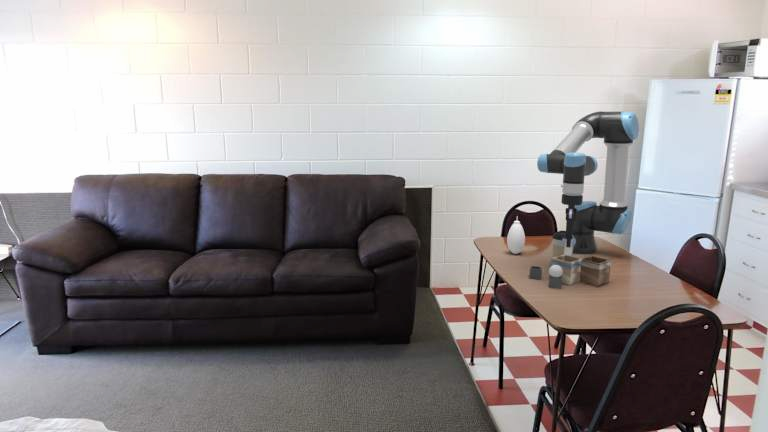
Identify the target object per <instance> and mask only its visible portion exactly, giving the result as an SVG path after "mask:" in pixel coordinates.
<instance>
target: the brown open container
mask: <svg viewBox="0 0 768 432" xmlns="http://www.w3.org/2000/svg"><path fill="white" fill-rule="evenodd" d="M611 267H612V260H611V259H607V258H603V257H600V256H594V255H589V256H585V257H582V258H581V271H580V282H579V283H582V284H585V285H590V286H593V287H596V288H599V287H601V286H604V285H607V284H609V283H610V276H611V275H610V274H611Z"/></svg>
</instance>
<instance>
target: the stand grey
mask: <svg viewBox="0 0 768 432" xmlns="http://www.w3.org/2000/svg"><path fill="white" fill-rule="evenodd" d="M561 278H562V276H561V277H559V278H556V277H552V276H551V275H550V274H549V277H548V288H553V289H561V287H562V283H561Z"/></svg>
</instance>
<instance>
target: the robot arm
mask: <svg viewBox="0 0 768 432" xmlns="http://www.w3.org/2000/svg"><path fill="white" fill-rule="evenodd" d="M638 119H639V118H638V117H637V115H636V114H635V113H634V112H632V111H626V110H625V111H594V112H592V113H589V114H586V115H585V116H583V117H581V118H579V120H577V121H576V122H575V123H574V124H573V125H572V126H571V131H570V132H568V134H567V135H566V136H565V137H564V138H563V139H562V140H561V141H560V143H558V145H557V146H555V148H554V149H553V150H552V151H551V152H550V153H542V154H540V155H539V156H538V158H537V162H536V163H537V169H538V171H539V172H541V173H544V174H545V173H547V174H556V175H557V174H559V175H563V178H562V184H560V187H561V190H562V191H561V192H562V194H561V204H562V205H564V206H565V205H566V206H567V207H566V208H565V213H564V214H565V222H566V225H565V231H566V236H565V237H563V239H565V248H564V255H570V256H571V255H572V256H573V254H581V255H588V254H589V255H592V254H595V253H597V249H598V246H597V241H596V239H595V232H602V233H607V234H608V233H609V234H613V235H614V234H616V235H623V234H625V233H626V232H627V230H628V228H629V227H630V224H631V220H632V216H633V214H632V210H631V209H630V208H628V206H629V205H628V203H627V202H626V201H625V194H626V184H627V171H628V170H627V169H628V161H629V160H628V157H629V148H630V146H631V145H633V144H634V143H633V142H634V140H636V139H637V138H638V136H639V131H640V130H639V129H640V125H639V120H638ZM591 139H604V140H603V144H604V145H605V146H606V148H607V149H606V159H605V160H606V161H605V172H604V173H605V174H604V175H605V176H604V188H603V189H604V190H603V199H602V200H601V201H600V202H599V205H598V204H597V202H596V201H592V200H590V201H588V200H587V201H586V200H585V201H583V199H584V196H583V194H584V189H585V177H586V176H591V175H592V174H594V173H595V172H596V171H597V169H598V167H599V165H598V161H597V159H596V158H595V157H594V156H591V155H586V154H585V153H583V152H578V150H580V149H581V148H582V146H583V144H585V143H586V142H589V141H590V140H591ZM573 236H575V240H576V243H575V245H574V247H573V253H572V242H573V239H572V238H573Z"/></svg>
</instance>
